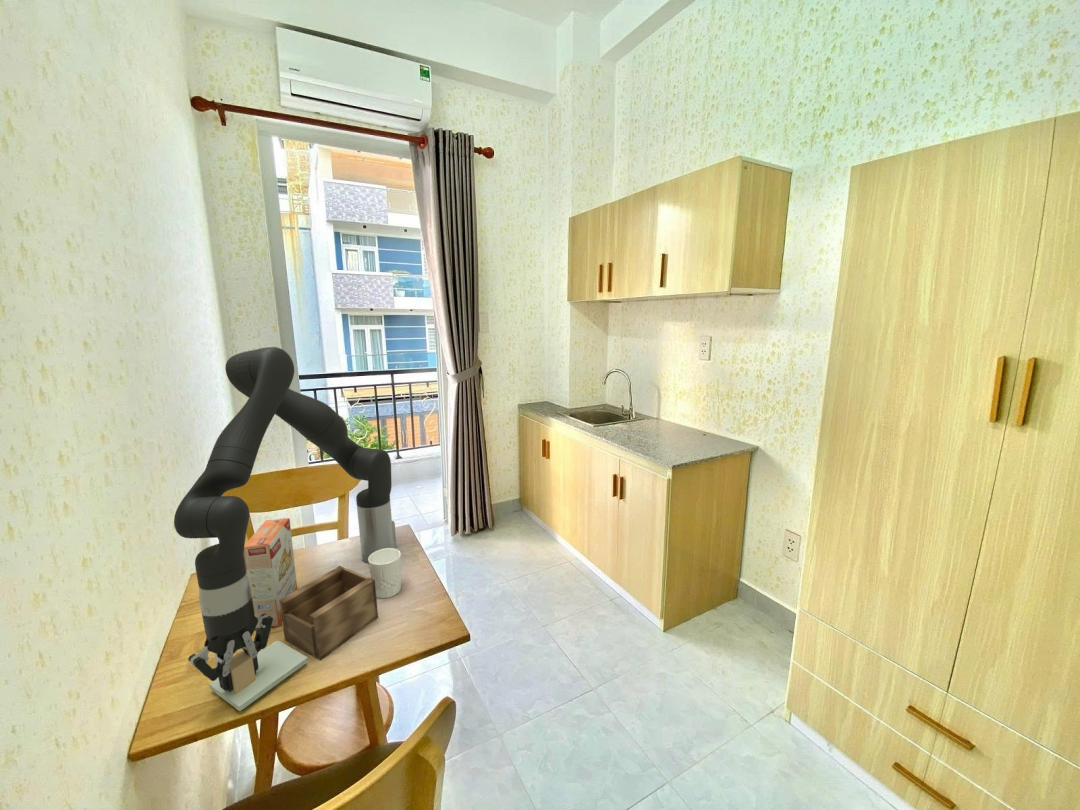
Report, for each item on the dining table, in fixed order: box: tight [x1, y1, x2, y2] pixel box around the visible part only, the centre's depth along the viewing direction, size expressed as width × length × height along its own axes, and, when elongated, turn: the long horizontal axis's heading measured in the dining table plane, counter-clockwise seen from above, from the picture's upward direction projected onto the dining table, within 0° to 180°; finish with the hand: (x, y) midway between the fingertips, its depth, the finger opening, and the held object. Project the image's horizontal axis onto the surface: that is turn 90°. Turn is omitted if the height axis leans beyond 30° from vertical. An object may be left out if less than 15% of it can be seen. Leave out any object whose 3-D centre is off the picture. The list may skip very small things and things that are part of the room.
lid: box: [208, 640, 309, 712], centre depth 85 cm, size 13×10×6 cm
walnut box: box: [279, 565, 379, 661], centre depth 98 cm, size 15×12×10 cm
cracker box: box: [244, 517, 298, 630], centre depth 104 cm, size 14×6×21 cm, turn 14°
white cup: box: [368, 548, 402, 599], centre depth 112 cm, size 8×8×10 cm
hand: (240, 681), depth 82 cm, fingers closed on lid, 3 cm apart
